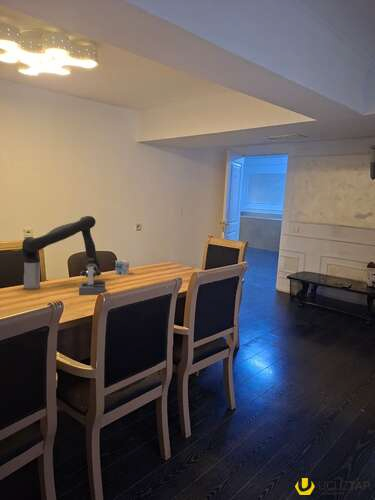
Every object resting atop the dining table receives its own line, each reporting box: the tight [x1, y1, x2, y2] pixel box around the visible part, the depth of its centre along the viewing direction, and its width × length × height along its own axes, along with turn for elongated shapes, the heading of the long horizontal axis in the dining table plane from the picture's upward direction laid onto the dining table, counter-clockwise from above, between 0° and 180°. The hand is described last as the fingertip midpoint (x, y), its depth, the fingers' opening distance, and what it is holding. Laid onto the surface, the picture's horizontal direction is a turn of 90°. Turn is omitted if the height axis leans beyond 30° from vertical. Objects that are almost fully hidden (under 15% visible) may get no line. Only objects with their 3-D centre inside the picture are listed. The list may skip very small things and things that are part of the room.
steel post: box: [86, 266, 95, 287], centre depth 222 cm, size 6×6×15 cm
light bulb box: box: [114, 259, 130, 276], centre depth 279 cm, size 11×7×11 cm, turn 105°
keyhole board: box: [78, 280, 106, 296], centre depth 224 cm, size 16×12×6 cm
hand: (90, 275), depth 219 cm, fingers closed on steel post, 3 cm apart
